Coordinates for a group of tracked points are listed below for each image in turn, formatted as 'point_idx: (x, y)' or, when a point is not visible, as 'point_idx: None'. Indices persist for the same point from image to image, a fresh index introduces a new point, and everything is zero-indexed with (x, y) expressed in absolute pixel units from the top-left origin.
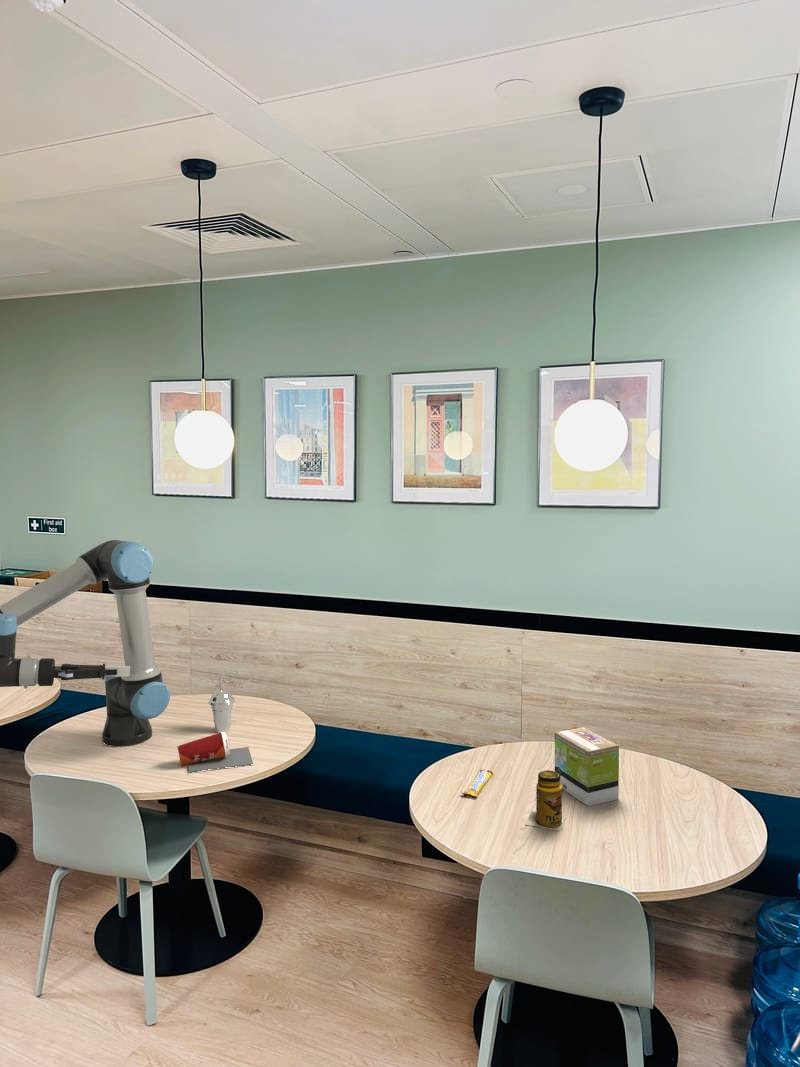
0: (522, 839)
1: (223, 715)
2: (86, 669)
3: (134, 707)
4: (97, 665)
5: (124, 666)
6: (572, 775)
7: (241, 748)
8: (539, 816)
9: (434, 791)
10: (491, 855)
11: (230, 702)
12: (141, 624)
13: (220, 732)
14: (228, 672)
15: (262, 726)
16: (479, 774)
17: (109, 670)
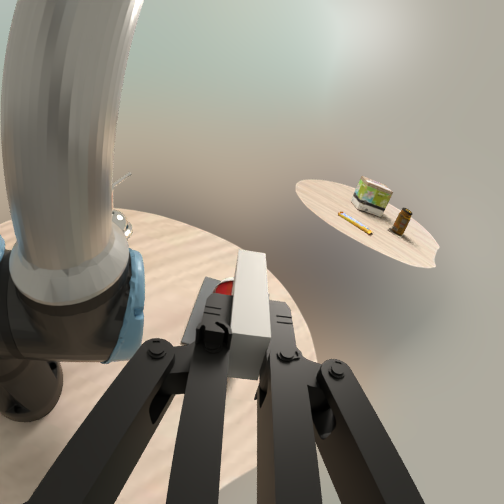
0: (413, 246)
1: None
2: (375, 456)
3: (132, 353)
4: (142, 367)
5: (252, 264)
6: (375, 204)
7: (205, 283)
8: (401, 231)
9: (361, 238)
10: (428, 261)
11: (131, 226)
12: (129, 49)
13: (223, 281)
14: (122, 178)
15: (138, 240)
16: (345, 216)
17: (293, 335)
